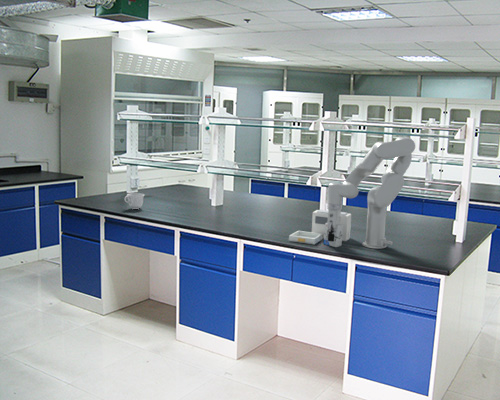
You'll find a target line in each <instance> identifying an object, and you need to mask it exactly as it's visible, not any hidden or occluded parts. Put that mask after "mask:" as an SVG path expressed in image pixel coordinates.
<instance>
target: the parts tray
mask: <svg viewBox="0 0 500 400" xmlns="http://www.w3.org/2000/svg"><path fill="white" fill-rule="evenodd" d="M322 240H324V238H323V234H320V233H313V232H312V231H303V230H297V231H295V232H293V233H290V234H288V241H289V242H295V243H301V244H308V245H316V244H318V243H319V242H321V241H322Z"/></svg>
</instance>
